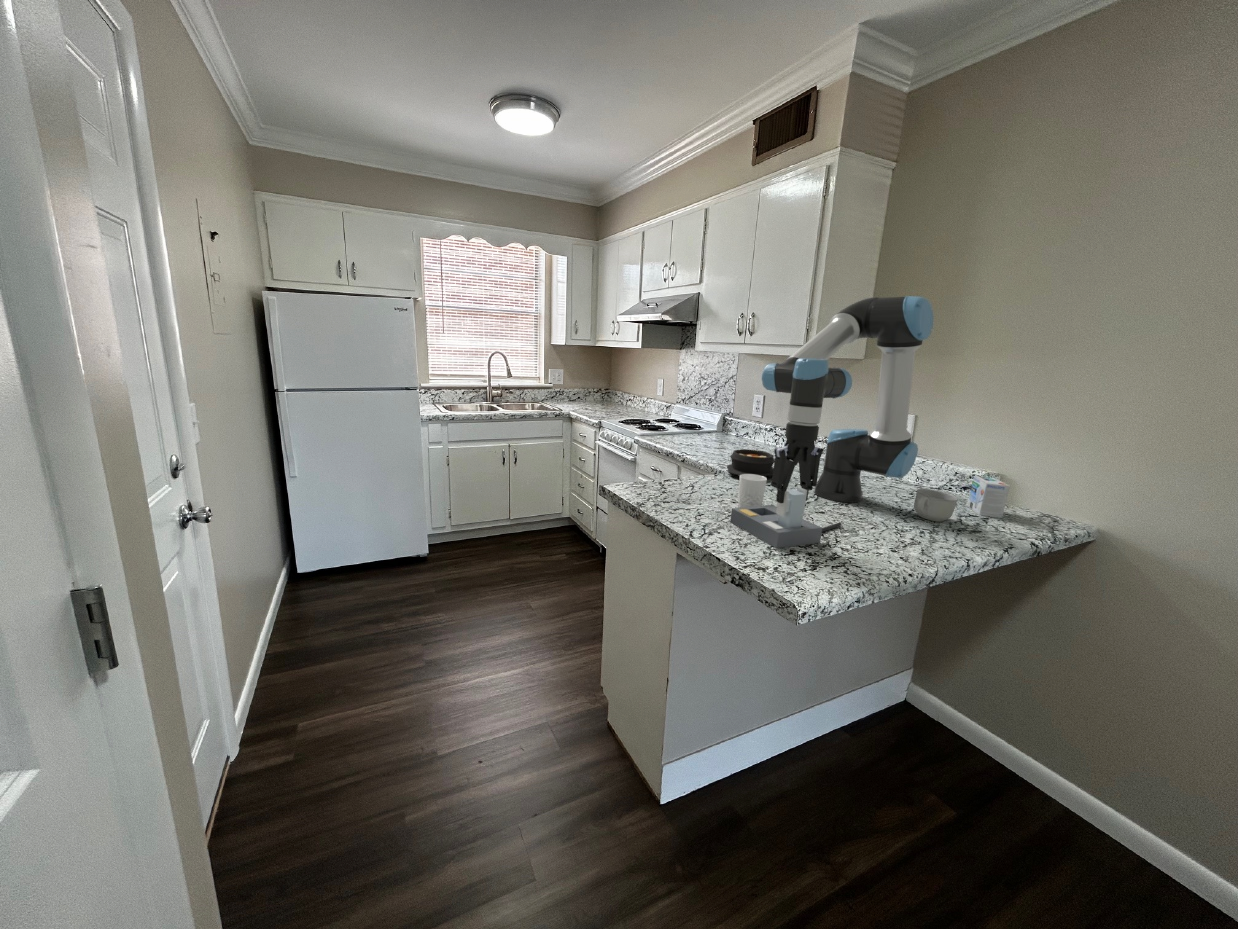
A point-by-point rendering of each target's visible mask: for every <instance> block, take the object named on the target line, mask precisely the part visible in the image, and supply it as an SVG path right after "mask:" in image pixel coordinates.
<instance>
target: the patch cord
mask: <svg viewBox="0 0 1238 929" xmlns="http://www.w3.org/2000/svg"><path fill="white" fill-rule="evenodd" d="M841 526H842V522H839V521H838V522H836V523H832V524H830V525H826V526H824V527H822V533H823V532H824V533H825V532H826V531H829V530H832V529H835V528H839V527H841Z"/></svg>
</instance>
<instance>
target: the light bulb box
mask: <svg viewBox="0 0 1238 929" xmlns="http://www.w3.org/2000/svg"><path fill="white" fill-rule="evenodd" d="M1010 488H1011V485H1010V484H1007V483H1006V482H1004V481H1001V480H1000V479H998V478H996V477H988V476H987V477H986V476H977V475H973V478H972V483H971V486H970V490H969V491H970V492H969V495H968V500H967V505H966V506H967V508H968V509H970V510H971V511H973V512H974V513H975V514H976V515H978V516H980V515H981V517H988V516H990V517H989V518H998V519H1003V515H1004V512H1005V508H1006V505H1007V504H1006V503H1007V500H1008V495H1009V492H1010Z"/></svg>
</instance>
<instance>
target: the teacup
mask: <svg viewBox="0 0 1238 929" xmlns="http://www.w3.org/2000/svg"><path fill="white" fill-rule="evenodd" d="M958 501H959V499H958V497H956V496H955V495H952V494H951V493H947V492H944V491H941V490H937V489H936V490H935V489H931V488H930V489H929V488H917V490H916V495H915V497H914V503H913V509H914V511H915V512H916V513H917V515H918V517H921V518H923V519H925V520H927V521H931V522H941V523H942V522H943V521H946V520H949V519H950V518H952V516H953V514H954V512H955V509H956V507H957V506H956V505H957V502H958Z"/></svg>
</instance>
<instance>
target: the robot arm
mask: <svg viewBox="0 0 1238 929" xmlns="http://www.w3.org/2000/svg"><path fill="white" fill-rule="evenodd" d="M933 310H934V309H933V307H932V305H931V302H930V301H929V299H928V298H926V297H923V296H912V295H907V296H889V297H888V296H886V297H885V296H883V297H877V296H876V297H868V298H864V299H861V300H858V301H856V302H854V303H852V304H849V305H848V306H846V307H844V308H843V309H841V310H840V311H838V312H837V313H836V314H835V315H833V316H832V317H831V318H830V319H829V321H828V325H826V326H825V327H824V328H823V329H821V330H820V331H819V332H817V334H815V335H814V336H812V338H810V339H809V340H808V341H807V342H806V343H805V344H803V345H802V346H801V347H800V348H799V349H797V350H796V351H795V352H794V353H792V354H791V355H789V357H787V358H786V359H785V360H784V361H782V362H781V363H779V362H773V363H772V362H771V363H768V364H767V365H766V366H765V367H764V368H763V370H762V374H761V382H762V383H761V384H762V386H763V388H765V390H767V391H772V392H775V393H783V394H784V393H785V394H790V399H789V403H788V404H789V405H788V412H787V421H788V422H787V423H786V427H785V432H784V433H785V434H784V437H785V438H786V440H785V443H784V446H783V447H780V448H779V447H775V448H774V451H773V452H774V460H775V462H774V463H773V468H774V469H773V475H771V476H772V477H771V482H770V485H771V486H770V487H772V488H774V489H775V488H776V490H777V491H776V498H775V501H776V502H777V505H776V507H777V510H776V513H777V514H779V515H781V516H783V517H786V511H787V504H788V497H789V491H787V490H788V487H789V484H790V481H791V479H792V476H793V473H794V471H795V467H796V466H797V465H798V470H799V471H798V472H799V473H798V474H799V483H800V484H799V485H800V486H797V488H796V490H797V491H799V492H802V493H804V494H806V497H805V504H804V510H803V515H805V508H806V504H807V503H806V502H807V501H808V497H809V491H812V490H813V488H814V492H813V493H814V494H815V495H817V496H818V497H821V498H823V499H827V500H831V501H836V502H842V503H858V502H861V501H862V500H863V490H862V481H861V474H862V473H861V472H866V473H871V474H875V475H880V476H884V477H886V478H895V479H902V478H904V477H905V476H907V475H908V473H909V472H910V471H911V470H912V468H913V466H914V464H915V461H916V459H917V456H918V451H919V447H918V444H917V443H916V442H912V437H913V436H912V434H911V432H910V431H908V429H907V428H908V420H909V410H910V402H911V401H910V400H911V392H912V383H913V376H914V375H913V374H914V367H915V366H914V365H915V357H916V351H917V350H918V349H919V348H921V347H922V345H923V341H925V340H927V339H928V338H930V335H931V334H932V330H933V329H934V328H933V327H934V311H933ZM857 339H858V340H859V339H876V347H877V348H878V349H879V350H880V351H881V360H880V370H879V381H878V392H877V393H878V394H877V403H876V404H877V405H876V414H875V415H876V416H875V427H874V429H872V430H871V431H869V432H868V429H861V428H859V429H857V428H839V429H833V430H831V431H830V432H829V435H828V438H827V441H826V449H825V456H824V461H823V462H824V463H823V470H822V472H821V473H820V477H819V476H818V475H819V468H820V463H821V457H822V455H823V452H824V449H823V448H822V447H818V446H816V443H815V442H816V441H817V440H818V435H819V430H820V427H819V424H820V422H821V418H822V417H821V416H822V411H823V410H822V409H823V402H824V399H838V398H841V397H844V396H846V395H847V394H848V393H849V392H850V391H851V389H852V386H853V379H852V375H851V374H850V371H847V370H846V369H844V368H840V367H829V362H828V360H830V358H832V357H833V356H834V354H836V353H837V352H838V351H839V350H840V349H842V348H843V347H844V346H845V345H848V344H851V343H853V342H855V341H856V340H857ZM818 477H819V478H818Z"/></svg>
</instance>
